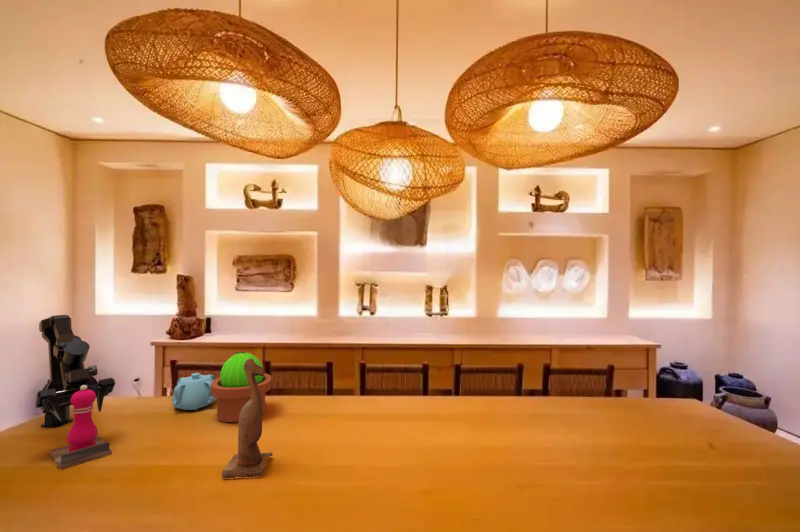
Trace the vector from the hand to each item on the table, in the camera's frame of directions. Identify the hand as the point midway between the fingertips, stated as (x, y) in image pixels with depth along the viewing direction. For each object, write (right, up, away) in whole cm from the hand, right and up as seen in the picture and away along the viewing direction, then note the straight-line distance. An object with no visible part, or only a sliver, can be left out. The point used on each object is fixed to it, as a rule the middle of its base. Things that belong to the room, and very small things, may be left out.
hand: (81, 415), depth 114 cm
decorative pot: (+13, -13, +40) cm, 44 cm away
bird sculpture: (+55, -13, -7) cm, 57 cm away
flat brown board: (0, -12, 0) cm, 12 cm away
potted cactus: (+36, -13, +32) cm, 50 cm away
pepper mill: (+1, -11, -1) cm, 11 cm away
